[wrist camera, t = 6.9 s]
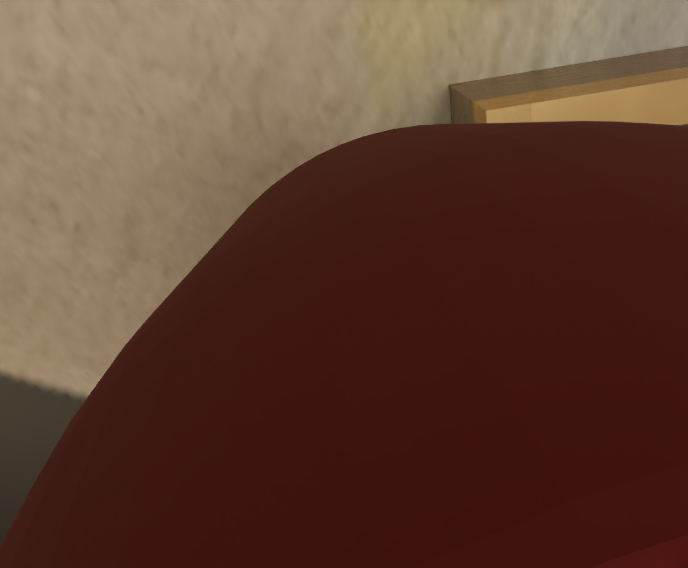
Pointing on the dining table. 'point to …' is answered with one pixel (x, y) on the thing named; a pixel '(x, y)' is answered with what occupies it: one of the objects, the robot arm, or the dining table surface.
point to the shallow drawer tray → (582, 92)
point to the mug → (405, 370)
